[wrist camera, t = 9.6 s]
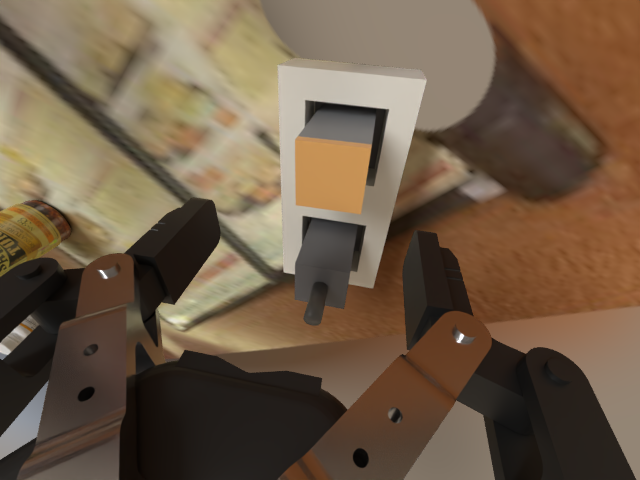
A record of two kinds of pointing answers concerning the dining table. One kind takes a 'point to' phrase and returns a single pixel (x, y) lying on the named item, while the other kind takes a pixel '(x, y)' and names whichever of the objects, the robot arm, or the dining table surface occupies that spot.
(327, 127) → the plug
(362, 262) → the white rectangular frame
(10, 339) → the supplement bottle
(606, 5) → the dining table surface
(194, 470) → the robot arm
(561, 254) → the dining table surface
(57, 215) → the sauce bottle
